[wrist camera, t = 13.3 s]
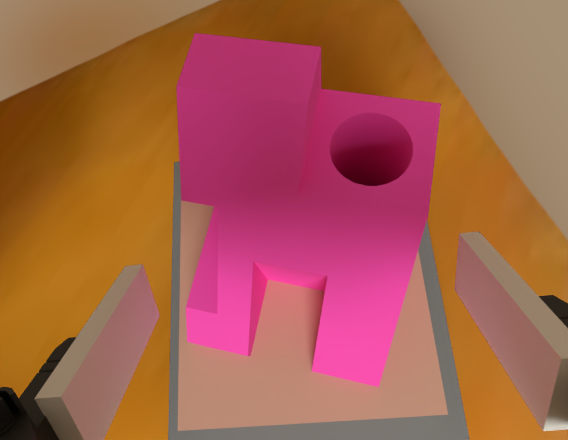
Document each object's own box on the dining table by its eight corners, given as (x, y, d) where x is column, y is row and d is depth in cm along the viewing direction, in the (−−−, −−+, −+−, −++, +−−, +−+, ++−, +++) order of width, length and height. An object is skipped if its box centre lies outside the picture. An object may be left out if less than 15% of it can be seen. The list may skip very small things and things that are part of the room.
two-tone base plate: (193, 438, 29) (139, 476, 20) (194, 187, 35) (153, 135, 27) (444, 424, 28) (498, 457, 19) (398, 166, 34) (423, 105, 25)
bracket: (243, 153, 26) (194, 33, 16) (404, 178, 24) (461, 61, 14) (192, 342, 22) (89, 337, 12) (376, 385, 21) (425, 418, 11)
